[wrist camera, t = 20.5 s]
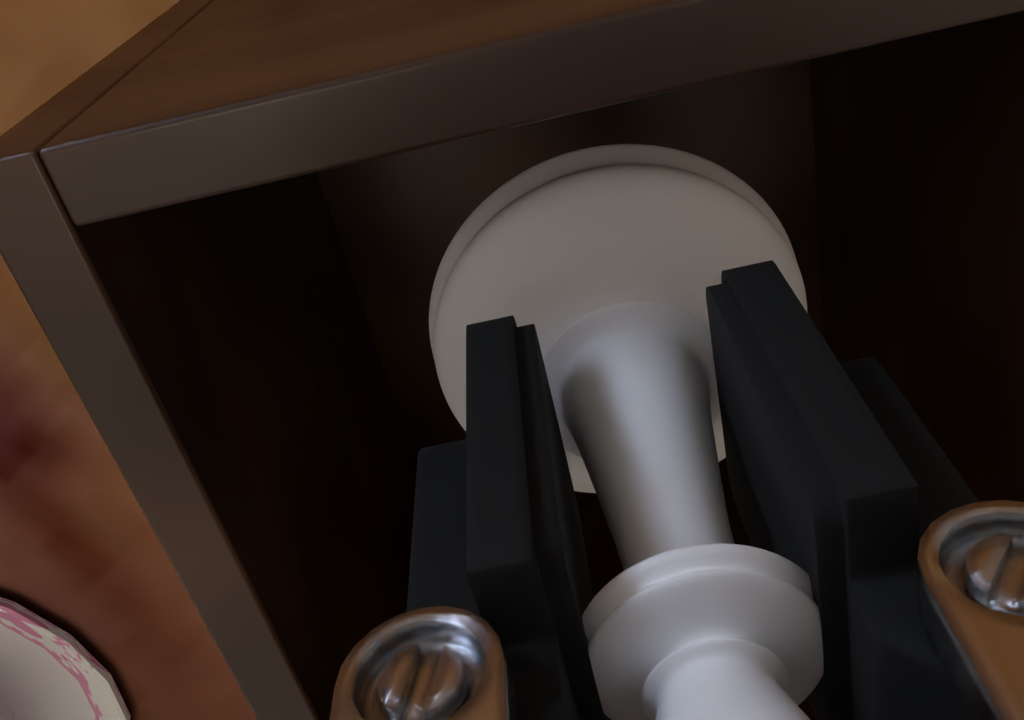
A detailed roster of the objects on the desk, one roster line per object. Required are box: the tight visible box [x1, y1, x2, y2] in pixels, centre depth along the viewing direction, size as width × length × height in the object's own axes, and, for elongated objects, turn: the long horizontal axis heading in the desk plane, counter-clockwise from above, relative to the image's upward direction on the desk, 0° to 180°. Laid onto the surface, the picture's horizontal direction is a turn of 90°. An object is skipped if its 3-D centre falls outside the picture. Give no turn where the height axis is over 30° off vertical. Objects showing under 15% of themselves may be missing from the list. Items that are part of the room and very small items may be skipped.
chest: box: [0, 0, 1024, 720], centre depth 17 cm, size 15×12×11 cm
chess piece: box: [429, 144, 824, 720], centre depth 8 cm, size 5×5×10 cm
